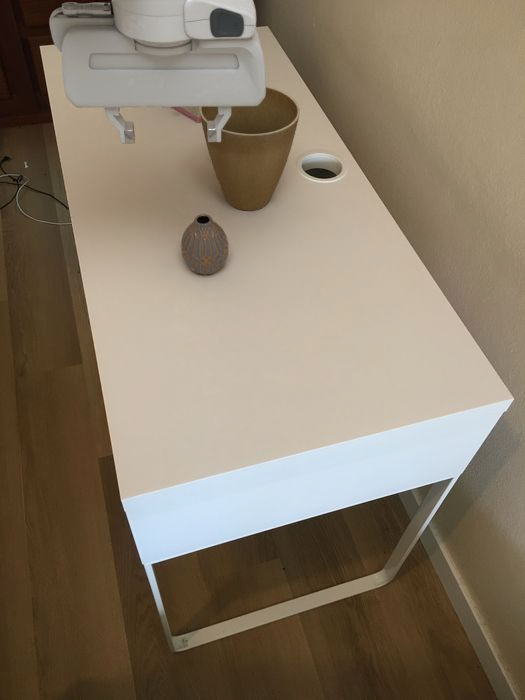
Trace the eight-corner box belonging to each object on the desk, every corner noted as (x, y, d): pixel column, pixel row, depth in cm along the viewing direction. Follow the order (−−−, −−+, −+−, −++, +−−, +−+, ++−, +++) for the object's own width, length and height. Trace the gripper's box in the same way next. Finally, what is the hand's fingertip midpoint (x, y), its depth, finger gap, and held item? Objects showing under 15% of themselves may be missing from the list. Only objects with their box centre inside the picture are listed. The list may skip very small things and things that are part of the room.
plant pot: (308, 208, 96) (319, 119, 84) (230, 236, 91) (229, 145, 78) (263, 162, 104) (267, 74, 91) (189, 185, 99) (182, 96, 86)
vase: (232, 278, 85) (232, 232, 78) (186, 284, 84) (181, 238, 77) (224, 247, 89) (223, 201, 82) (180, 252, 88) (175, 206, 81)
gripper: (39, 16, 50) (72, 158, 61) (272, 18, 52) (264, 154, 63) (48, -12, 54) (77, 126, 64) (264, -9, 56) (258, 124, 67)
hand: (171, 140), depth 64 cm, fingers open, 8 cm apart
